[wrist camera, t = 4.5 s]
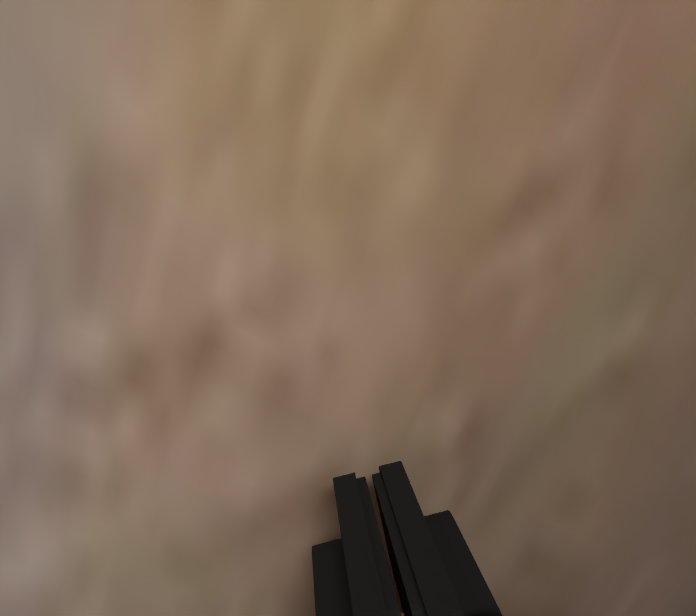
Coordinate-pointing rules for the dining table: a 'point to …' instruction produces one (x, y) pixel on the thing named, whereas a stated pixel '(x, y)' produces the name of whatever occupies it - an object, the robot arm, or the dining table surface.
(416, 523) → the robot arm
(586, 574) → the dining table surface
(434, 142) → the dining table surface
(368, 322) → the dining table surface
